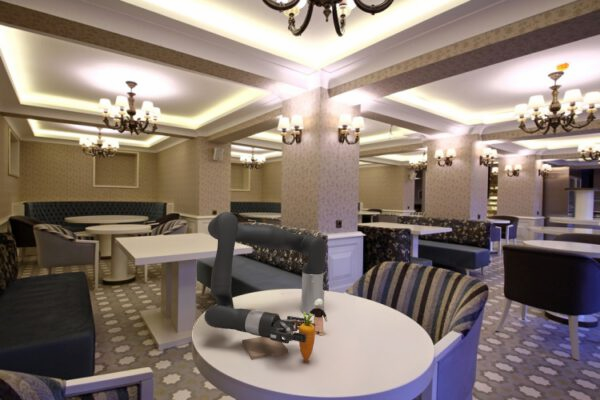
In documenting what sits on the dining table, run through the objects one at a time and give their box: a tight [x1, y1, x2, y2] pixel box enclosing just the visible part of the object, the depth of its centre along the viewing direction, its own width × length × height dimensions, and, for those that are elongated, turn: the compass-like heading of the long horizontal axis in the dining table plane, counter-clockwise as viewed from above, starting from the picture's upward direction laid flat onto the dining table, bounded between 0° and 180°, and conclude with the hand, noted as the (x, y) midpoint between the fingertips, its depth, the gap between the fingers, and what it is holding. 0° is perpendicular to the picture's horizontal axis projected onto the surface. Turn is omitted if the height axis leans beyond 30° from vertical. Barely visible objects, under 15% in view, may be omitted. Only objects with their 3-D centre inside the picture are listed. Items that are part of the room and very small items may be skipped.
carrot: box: [298, 312, 316, 363], centre depth 94 cm, size 5×5×15 cm
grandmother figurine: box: [308, 299, 329, 336], centre depth 115 cm, size 8×4×13 cm, turn 71°
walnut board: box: [241, 336, 289, 361], centre depth 102 cm, size 12×12×1 cm
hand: (310, 332), depth 94 cm, fingers open, 8 cm apart
